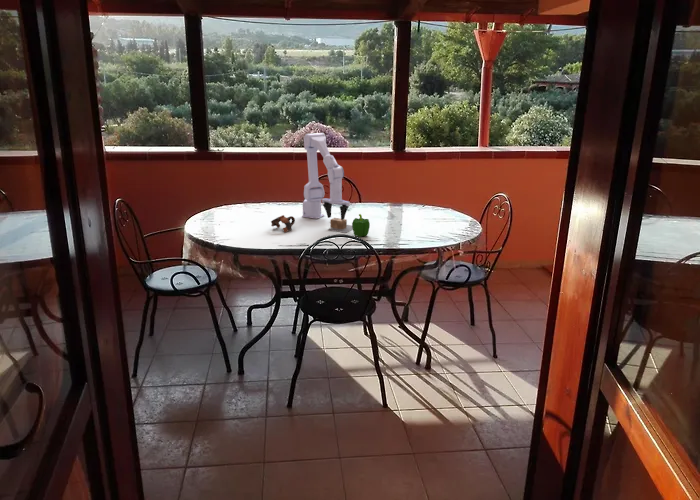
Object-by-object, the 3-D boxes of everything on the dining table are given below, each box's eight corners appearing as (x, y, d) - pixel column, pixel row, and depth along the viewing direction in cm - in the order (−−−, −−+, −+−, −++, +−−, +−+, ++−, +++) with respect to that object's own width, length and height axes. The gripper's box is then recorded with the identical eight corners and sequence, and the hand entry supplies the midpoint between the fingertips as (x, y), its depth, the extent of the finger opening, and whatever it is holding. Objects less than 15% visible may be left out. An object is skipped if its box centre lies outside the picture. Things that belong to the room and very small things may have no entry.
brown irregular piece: (280, 235, 263) (272, 219, 262) (274, 238, 271) (266, 223, 271) (301, 224, 268) (293, 209, 268) (294, 228, 277) (286, 214, 276)
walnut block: (330, 219, 271) (342, 221, 268) (334, 217, 275) (346, 219, 272) (330, 227, 273) (342, 229, 270) (334, 225, 276) (346, 227, 273)
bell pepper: (368, 238, 256) (368, 218, 253) (350, 237, 258) (351, 217, 254) (370, 233, 264) (370, 213, 261) (353, 232, 265) (353, 212, 262)
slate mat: (328, 230, 269) (328, 229, 269) (340, 224, 279) (340, 223, 279) (346, 233, 264) (346, 232, 264) (357, 226, 274) (357, 226, 274)
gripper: (318, 191, 267) (319, 218, 272) (345, 194, 261) (344, 222, 265) (326, 188, 273) (326, 215, 278) (351, 191, 267) (351, 218, 271)
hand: (336, 218), depth 272 cm, fingers open, 7 cm apart
